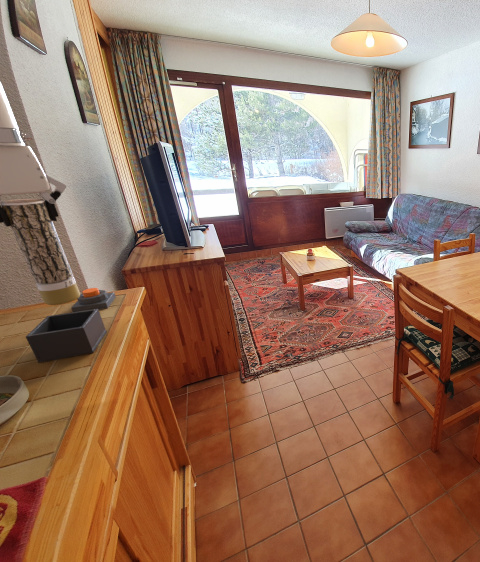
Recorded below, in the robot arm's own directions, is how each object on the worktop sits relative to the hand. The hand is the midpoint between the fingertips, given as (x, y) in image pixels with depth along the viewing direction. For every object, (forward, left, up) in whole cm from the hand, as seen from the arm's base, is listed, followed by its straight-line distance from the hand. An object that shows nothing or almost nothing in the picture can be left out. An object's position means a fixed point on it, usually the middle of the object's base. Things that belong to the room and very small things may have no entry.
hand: (31, 222), depth 71 cm
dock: (+4, -12, -28) cm, 30 cm away
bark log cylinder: (0, 0, -20) cm, 20 cm away
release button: (+1, +13, -25) cm, 28 cm away
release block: (+1, +13, -28) cm, 30 cm away
